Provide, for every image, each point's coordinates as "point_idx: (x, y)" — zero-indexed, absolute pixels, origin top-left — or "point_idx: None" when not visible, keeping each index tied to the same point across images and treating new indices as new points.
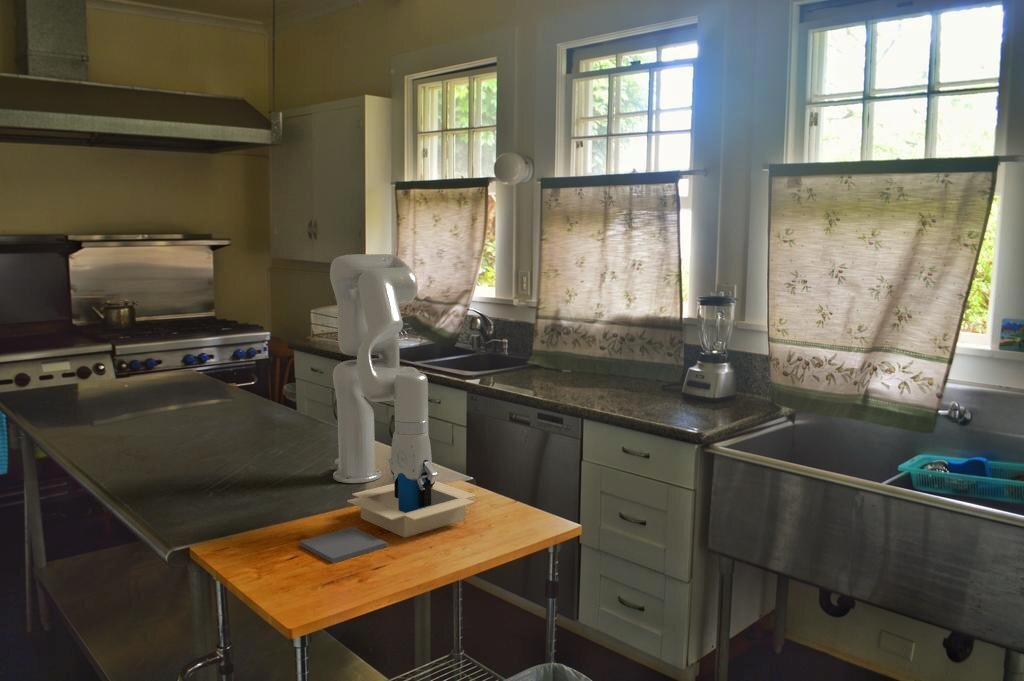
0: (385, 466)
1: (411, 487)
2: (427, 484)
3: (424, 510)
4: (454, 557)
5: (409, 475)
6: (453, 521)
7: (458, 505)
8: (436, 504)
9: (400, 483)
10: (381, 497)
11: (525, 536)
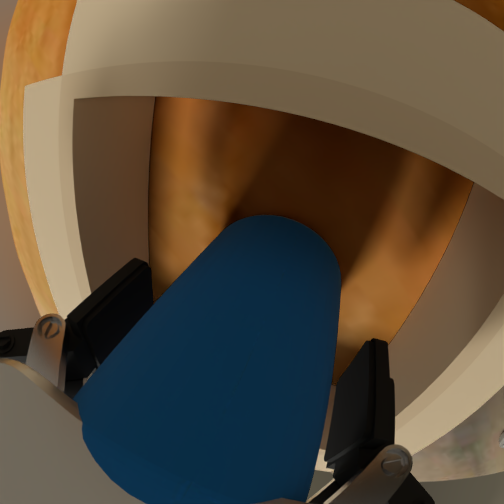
0: (492, 455)
1: (115, 348)
2: (12, 335)
3: (56, 197)
4: (16, 104)
5: (25, 414)
6: None
7: (60, 307)
8: None
9: (205, 394)
10: (468, 314)
11: (35, 275)
